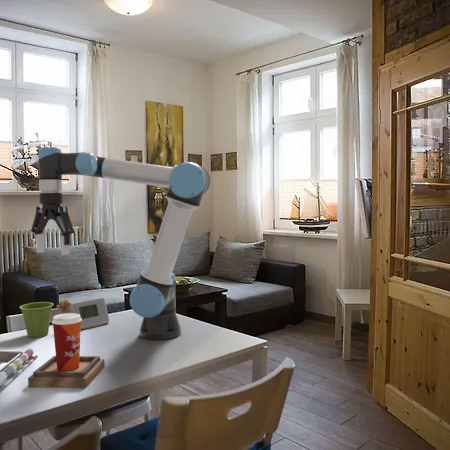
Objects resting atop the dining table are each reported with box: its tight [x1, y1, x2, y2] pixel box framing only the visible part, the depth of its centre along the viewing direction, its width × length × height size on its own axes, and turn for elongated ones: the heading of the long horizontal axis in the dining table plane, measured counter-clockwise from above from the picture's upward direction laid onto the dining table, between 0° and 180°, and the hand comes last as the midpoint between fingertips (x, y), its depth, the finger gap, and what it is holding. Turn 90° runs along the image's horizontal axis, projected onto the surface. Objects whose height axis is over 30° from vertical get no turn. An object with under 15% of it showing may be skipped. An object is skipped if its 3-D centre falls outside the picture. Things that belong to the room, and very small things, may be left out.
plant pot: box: [19, 301, 54, 338], centre depth 185 cm, size 12×12×11 cm
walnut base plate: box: [27, 355, 105, 389], centre depth 141 cm, size 16×16×4 cm
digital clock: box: [69, 296, 110, 331], centre depth 197 cm, size 16×9×11 cm, turn 128°
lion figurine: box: [56, 298, 71, 314], centre depth 203 cm, size 15×5×9 cm, turn 54°
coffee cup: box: [51, 313, 82, 371], centre depth 141 cm, size 8×8×15 cm
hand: (52, 253), depth 172 cm, fingers open, 13 cm apart
